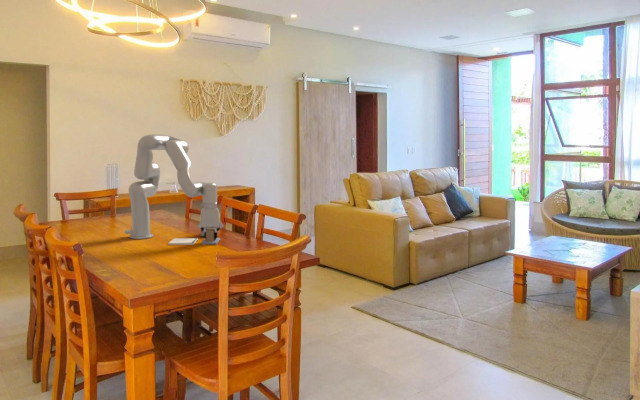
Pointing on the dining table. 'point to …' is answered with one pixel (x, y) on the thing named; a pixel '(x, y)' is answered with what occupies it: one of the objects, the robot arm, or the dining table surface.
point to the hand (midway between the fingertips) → (210, 239)
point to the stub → (210, 237)
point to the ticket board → (183, 241)
